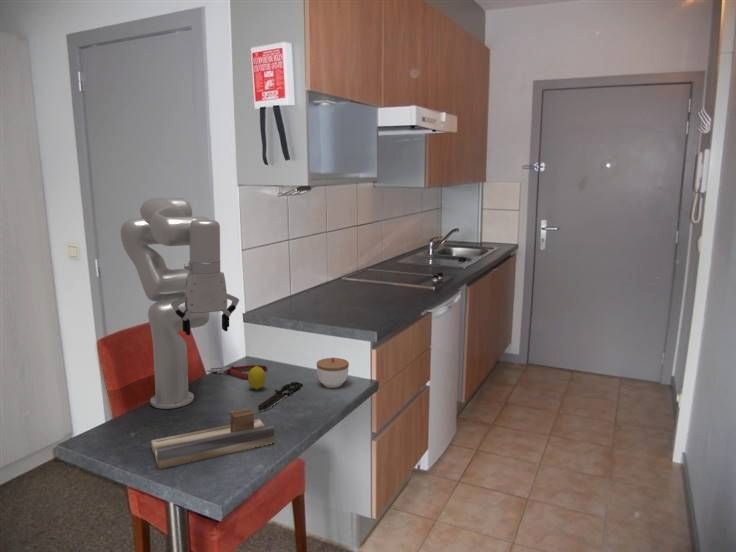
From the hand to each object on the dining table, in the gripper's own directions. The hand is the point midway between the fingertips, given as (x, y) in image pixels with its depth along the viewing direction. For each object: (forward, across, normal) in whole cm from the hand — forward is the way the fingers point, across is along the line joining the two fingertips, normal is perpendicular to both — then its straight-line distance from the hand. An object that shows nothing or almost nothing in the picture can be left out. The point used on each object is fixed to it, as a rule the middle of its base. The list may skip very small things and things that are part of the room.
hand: (206, 331), depth 143 cm
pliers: (+29, +21, +41) cm, 55 cm away
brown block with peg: (+25, +6, -10) cm, 27 cm away
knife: (+28, +25, +12) cm, 40 cm away
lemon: (+28, +21, +22) cm, 42 cm away
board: (+27, -1, -11) cm, 29 cm away
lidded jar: (+28, +45, +15) cm, 55 cm away
